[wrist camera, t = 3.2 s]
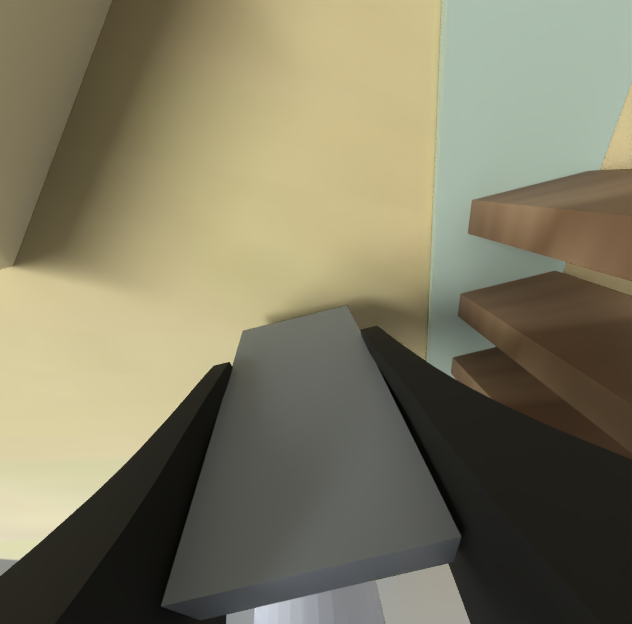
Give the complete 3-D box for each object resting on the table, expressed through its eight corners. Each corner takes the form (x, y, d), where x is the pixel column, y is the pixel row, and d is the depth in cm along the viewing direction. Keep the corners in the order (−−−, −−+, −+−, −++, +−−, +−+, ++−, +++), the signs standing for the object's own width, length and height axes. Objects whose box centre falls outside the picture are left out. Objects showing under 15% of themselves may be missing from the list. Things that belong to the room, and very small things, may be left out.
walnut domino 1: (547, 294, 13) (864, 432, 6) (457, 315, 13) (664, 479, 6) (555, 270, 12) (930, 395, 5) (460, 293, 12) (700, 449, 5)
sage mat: (521, 374, 16) (525, 377, 16) (424, 397, 16) (427, 401, 16) (700, -147, 6) (719, -162, 6) (445, -79, 6) (452, -90, 6)
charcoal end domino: (351, 329, 11) (453, 562, 4) (253, 353, 11) (200, 620, 4) (347, 305, 11) (460, 536, 4) (242, 330, 11) (160, 606, 4)
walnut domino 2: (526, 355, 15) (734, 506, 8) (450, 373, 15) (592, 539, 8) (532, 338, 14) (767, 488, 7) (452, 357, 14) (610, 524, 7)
